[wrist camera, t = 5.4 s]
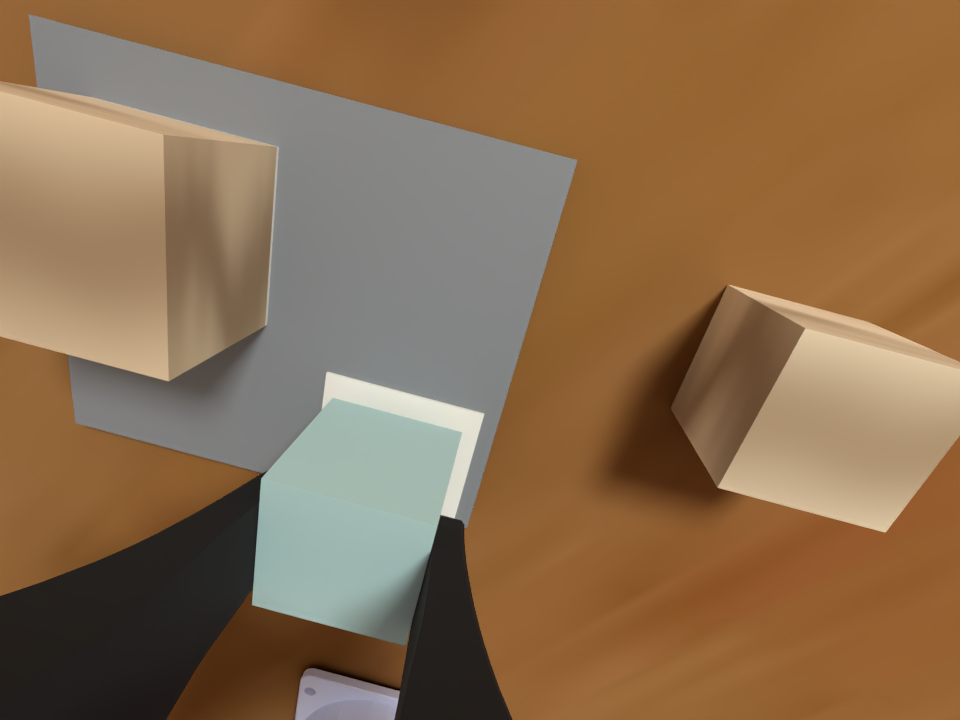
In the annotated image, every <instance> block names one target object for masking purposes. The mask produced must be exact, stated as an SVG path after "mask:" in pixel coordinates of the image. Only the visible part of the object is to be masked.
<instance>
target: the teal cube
mask: <svg viewBox="0 0 960 720" xmlns="http://www.w3.org/2000/svg"><path fill="white" fill-rule="evenodd" d="M461 435H462V432H459V431H456V430H452V429H448V428H444V427H441V426H437V425H433V424H429V423H426V422H422V421H418V420H414V419H411V418H407V417H403V416H399V415H396V414H392V413H388V412H385V411H381V410H377V409H373V408H370V407H366V406H362V405H358V404H355V403H351V402H347V401H343V400H340V399H336V398H332V399H331V400H330V401H329V403H328V404H327V405H326V406H325V407H324V408H323V409H322V411H321V412H320V413H319V414H318V415H317V416H316V417H315V418H314V420H313V421H312V422H311V423H310V424H309V425H308V426H307V427H306V429H305V430H304V431H303V432H302V433H301V434H300V435H299V436H298V438H297V439H296V440H295V441H294V442H293V443H292V444H291V445H290V447H289V448H288V449H287V450H286V451H285V452H284V453H283V455H282V456H281V457H280V458H279V459H278V460H277V461H276V462H275V464H274V465H273V466H272V467H271V468H270V469H269V470H268V471H267V473H266V474H265V475H264V476H263V477H262V478H261V488H260V502H259V515H258V529H257V543H256V556H255V570H254V583H253V597H252V605H254V606H257V607H261V608H265V609H269V610H272V611H276V612H280V613H284V614H287V615H291V616H295V617H298V618H302V619H306V620H310V621H313V622H317V623H321V624H325V625H328V626H332V627H336V628H339V629H343V630H347V631H351V632H354V633H358V634H362V635H366V636H369V637H373V638H377V639H380V640H384V641H388V642H392V643H395V644H399V645H403V646H406V642H407V638H408V634H409V631H410V627H411V623H412V619H413V616H414V612H415V608H416V605H417V601H418V597H419V593H420V590H421V586H422V582H423V578H424V575H425V571H426V567H427V564H428V560H429V556H430V552H431V549H432V545H433V541H434V537H435V534H436V530H437V526H438V522H439V519H440V515H441V511H442V507H443V503H444V500H445V496H446V492H447V488H448V485H449V481H450V477H451V473H452V469H453V466H454V462H455V458H456V454H457V450H458V447H459V443H460V439H461Z"/></svg>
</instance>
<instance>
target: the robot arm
mask: <svg viewBox="0 0 960 720" xmlns="http://www.w3.org/2000/svg"><path fill="white" fill-rule="evenodd" d="M267 471H268V470H267ZM267 471H266V472H264V473H262V474H261V475H259V476H257V477H256V478H254V479H252V480H251V481H249V482H247V483H246V484H244V485H242V486H241V487H239V488H237V489H236V490H234V491H232V492H231V493H229V494H228V495H226V496H224V497H223V498H221V499H219V500H217V501H216V502H214V503H212V504H210V505H209V506H207V507H205V508H203V509H202V510H200V511H198V512H197V513H195V514H193V515H191V516H189V517H188V518H186V519H184V520H182V521H180V522H178V523H176V524H174V525H172V526H171V527H169V528H167V529H165V530H163V531H161V532H159V533H157V534H155V535H153V536H151V537H149V538H147V539H145V540H143V541H141V542H139V543H137V544H135V545H133V546H130V547H128V548H126V549H124V550H122V551H119V552H117V553H115V554H112V555H110V556H108V557H106V558H103V559H101V560H98V561H96V562H94V563H91V564H88V565H86V566H83V567H81V568H78V569H75V570H73V571H70V572H67V573H65V574H62V575H60V576H57V577H54V578H52V579H49V580H47V581H44V582H41V583H38V584H35V585H32V586H29V587H26V588H23V589H20V590H17V591H15V592H12V593H9V594H5V595H2V596H0V720H166V719H167V717H168V715H169V713H170V712H171V710H172V708H173V707H174V705H175V703H176V702H177V700H178V698H179V697H180V695H181V693H182V692H183V690H184V688H185V686H186V685H187V683H188V681H189V680H190V678H191V676H192V675H193V673H194V671H195V670H196V668H197V667H198V665H199V664H200V662H201V661H202V659H203V658H204V656H205V654H206V653H207V651H208V650H209V649H210V647H211V646H212V644H213V643H214V642H215V640H216V639H217V637H218V636H219V635H220V633H221V632H222V630H223V629H224V628H225V626H226V625H227V623H228V622H229V621H230V619H231V618H232V616H233V615H234V614H235V612H236V611H237V609H238V608H239V607H240V605H241V604H242V602H243V601H244V600H245V598H246V597H247V595H248V594H249V593H250V591H251V590H252V588H253V583H254V570H255V556H256V543H257V529H258V515H259V502H260V488H261V478H262V477H263V476H264V475H265V474H266V473H267ZM464 526H465V525H464V523H463V522H462V520H458V519H454V518H451V517H447V516H443V515H440V519H439V522H438V526H437V530H436V534H435V537H434V541H433V545H432V549H431V552H430V556H429V560H428V564H427V567H426V571H425V575H424V578H423V582H422V586H421V590H420V593H419V597H418V601H417V605H416V608H415V612H414V616H413V619H412V625H411V630H410V636H409V642H408V648H407V653H406V659H405V665H404V671H403V676H402V682H401V688H400V691H398V690H394V689H390V688H387V687H383V686H379V685H375V684H372V683H368V682H364V681H360V680H357V679H353V678H349V677H346V676H342V675H338V674H334V673H331V672H327V671H323V670H319V669H315V668H310V669H307V670H305V671H304V673H303V676H302V678H301V680H300V686H299V693H298V700H297V708H296V715H295V720H512V718H511V715H510V713H509V710H508V708H507V706H506V703H505V701H504V698H503V696H502V694H501V691H500V689H499V686H498V683H497V680H496V678H495V675H494V672H493V669H492V666H491V664H490V660H489V657H488V654H487V651H486V648H485V645H484V641H483V638H482V635H481V631H480V627H479V623H478V619H477V615H476V611H475V607H474V603H473V598H472V593H471V588H470V582H469V577H468V571H467V564H466V555H465V544H464Z"/></svg>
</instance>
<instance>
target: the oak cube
mask: <svg viewBox="0 0 960 720" xmlns="http://www.w3.org/2000/svg"><path fill="white" fill-rule="evenodd" d="M276 154H277V147H276V146H272V145H268V144H265V143H261V142H257V141H253V140H250V139H246V138H242V137H238V136H235V135H231V134H227V133H223V132H220V131H216V130H212V129H208V128H205V127H201V126H197V125H193V124H189V123H186V122H182V121H178V120H174V119H171V118H167V117H163V116H159V115H156V114H152V113H148V112H144V111H141V110H137V109H133V108H129V107H126V106H122V105H118V104H114V103H111V102H107V101H103V100H99V99H96V98H92V97H88V96H82V95H76V94H70V93H65V92H59V91H53V90H47V89H42V88H36V87H30V86H25V85H19V84H13V83H7V82H2V81H0V336H1V337H5V338H8V339H12V340H16V341H20V342H23V343H27V344H31V345H34V346H38V347H42V348H46V349H49V350H53V351H57V352H61V353H64V354H68V355H72V356H76V357H79V358H83V359H87V360H91V361H94V362H98V363H102V364H106V365H109V366H113V367H117V368H120V369H124V370H128V371H132V372H135V373H139V374H143V375H147V376H150V377H154V378H158V379H162V380H165V381H170V380H172V379H174V378H176V377H177V376H179V375H181V374H182V373H184V372H186V371H188V370H189V369H191V368H193V367H195V366H196V365H198V364H200V363H202V362H203V361H205V360H207V359H209V358H210V357H212V356H214V355H216V354H217V353H219V352H221V351H223V350H224V349H226V348H228V347H230V346H231V345H233V344H235V343H237V342H238V341H240V340H242V339H243V338H245V337H247V336H249V335H250V334H252V333H254V332H256V331H257V330H259V329H261V328H263V327H264V326H265V321H266V306H267V291H268V276H269V261H270V245H271V230H272V215H273V200H274V185H275V169H276Z"/></svg>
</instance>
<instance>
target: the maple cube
mask: <svg viewBox="0 0 960 720" xmlns="http://www.w3.org/2000/svg"><path fill="white" fill-rule="evenodd" d="M670 409H671V410H672V412H673V414H674V415H675V417H676V419H677V420H678V422H679V424H680V425H681V427H682V429H683V430H684V432H685V434H686V435H687V437H688V439H689V440H690V442H691V444H692V445H693V447H694V449H695V451H696V452H697V454H698V456H699V457H700V459H701V461H702V462H703V464H704V466H705V467H706V469H707V471H708V472H709V474H710V476H711V477H712V479H713V481H714V482H715V484H716V486H717V487H718V488H721V489H724V490H728V491H732V492H736V493H739V494H743V495H747V496H751V497H754V498H758V499H762V500H766V501H769V502H773V503H777V504H781V505H784V506H788V507H792V508H796V509H799V510H803V511H807V512H810V513H814V514H818V515H822V516H825V517H829V518H833V519H837V520H840V521H844V522H848V523H852V524H855V525H859V526H863V527H867V528H870V529H874V530H878V531H882V532H885V533H886V531H887V530H888V529H889V527H890V526H891V525H892V523H893V522H894V521H895V519H896V518H897V517H898V516H899V514H900V513H901V512H902V510H903V509H904V508H905V506H906V505H907V504H908V502H909V501H910V500H911V498H912V497H913V496H914V495H915V493H916V492H917V491H918V489H919V488H920V487H921V485H922V484H923V483H924V481H925V480H926V479H927V478H928V476H929V475H930V474H931V472H932V471H933V470H934V468H935V467H936V466H937V464H938V463H939V462H940V460H941V459H942V458H943V457H944V455H945V454H946V453H947V451H948V450H949V449H950V447H951V446H952V445H953V443H954V442H955V441H956V440H957V438H958V437H959V436H960V362H958V361H956V360H954V359H951V358H949V357H947V356H944V355H942V354H940V353H938V352H935V351H933V350H931V349H929V348H926V347H924V346H922V345H919V344H917V343H915V342H913V341H910V340H908V339H906V338H904V337H901V336H899V335H897V334H894V333H892V332H890V331H888V330H885V329H883V328H881V327H879V326H876V325H874V324H872V323H869V322H866V321H863V320H859V319H855V318H851V317H848V316H844V315H840V314H836V313H833V312H829V311H825V310H821V309H818V308H814V307H810V306H806V305H803V304H799V303H795V302H791V301H788V300H784V299H780V298H776V297H773V296H769V295H765V294H761V293H758V292H754V291H750V290H746V289H743V288H739V287H735V286H731V285H727V287H726V289H725V292H724V294H723V296H722V298H721V300H720V302H719V305H718V307H717V309H716V311H715V313H714V315H713V317H712V320H711V322H710V324H709V326H708V328H707V330H706V333H705V335H704V337H703V339H702V341H701V343H700V346H699V348H698V350H697V352H696V354H695V356H694V359H693V361H692V363H691V365H690V367H689V369H688V371H687V374H686V376H685V378H684V380H683V382H682V384H681V387H680V389H679V391H678V393H677V395H676V397H675V400H674V402H673V404H672V406H671V408H670Z"/></svg>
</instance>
